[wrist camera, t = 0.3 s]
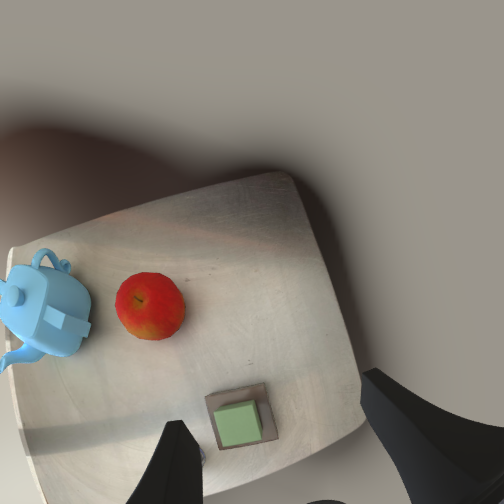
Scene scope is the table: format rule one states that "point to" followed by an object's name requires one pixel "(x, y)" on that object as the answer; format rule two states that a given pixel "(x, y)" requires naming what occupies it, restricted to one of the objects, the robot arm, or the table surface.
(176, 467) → the robot arm
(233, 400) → the walnut base
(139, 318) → the apple
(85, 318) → the teapot
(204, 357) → the table surface
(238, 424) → the green block
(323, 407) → the table surface
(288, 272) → the table surface
